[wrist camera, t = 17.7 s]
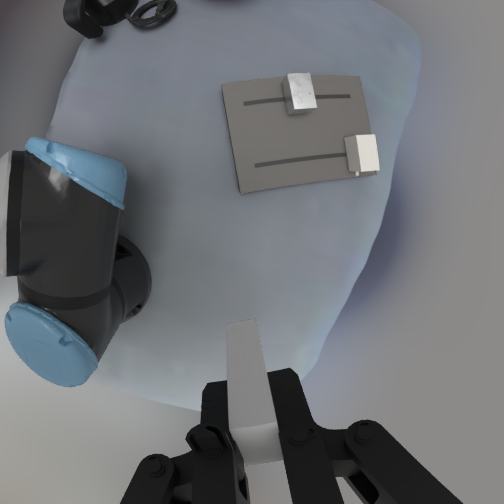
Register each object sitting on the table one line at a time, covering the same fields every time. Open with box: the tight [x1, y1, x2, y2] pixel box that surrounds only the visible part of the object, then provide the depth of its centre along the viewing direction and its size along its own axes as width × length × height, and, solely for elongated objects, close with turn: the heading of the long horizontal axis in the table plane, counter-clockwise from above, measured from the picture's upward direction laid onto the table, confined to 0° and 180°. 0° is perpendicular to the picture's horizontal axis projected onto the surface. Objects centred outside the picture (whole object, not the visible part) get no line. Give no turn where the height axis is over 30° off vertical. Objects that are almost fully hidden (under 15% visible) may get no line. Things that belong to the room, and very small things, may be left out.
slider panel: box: [222, 75, 377, 194], centre depth 37 cm, size 21×16×3 cm
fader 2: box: [344, 134, 380, 172], centre depth 35 cm, size 3×5×4 cm, turn 10°
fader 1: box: [282, 73, 317, 115], centre depth 32 cm, size 3×5×4 cm, turn 10°
